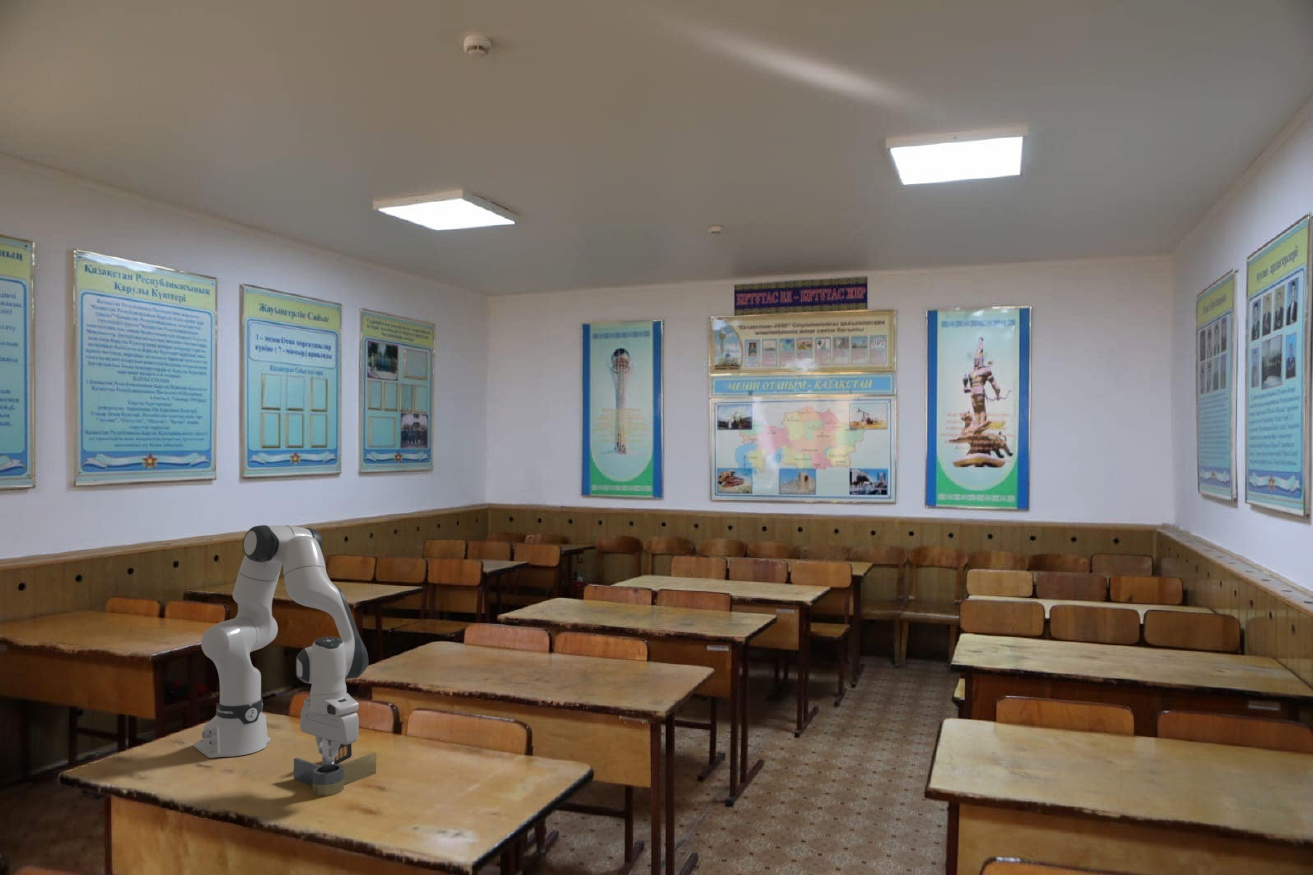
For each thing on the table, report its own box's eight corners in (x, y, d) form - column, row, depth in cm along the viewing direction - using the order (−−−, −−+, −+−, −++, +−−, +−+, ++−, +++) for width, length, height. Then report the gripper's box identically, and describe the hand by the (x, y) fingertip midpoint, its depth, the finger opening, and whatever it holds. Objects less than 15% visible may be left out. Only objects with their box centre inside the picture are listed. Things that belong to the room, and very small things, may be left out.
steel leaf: (282, 782, 228) (282, 762, 228) (307, 774, 234) (307, 754, 234) (324, 797, 217) (324, 776, 218) (349, 788, 224) (349, 767, 224)
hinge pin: (319, 779, 222) (319, 732, 223) (329, 775, 225) (329, 729, 225) (326, 781, 221) (326, 734, 221) (336, 777, 223) (336, 731, 223)
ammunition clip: (327, 769, 238) (327, 725, 238) (321, 768, 238) (322, 725, 239) (351, 756, 248) (352, 714, 248) (346, 755, 249) (346, 714, 249)
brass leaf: (306, 791, 222) (307, 770, 222) (366, 770, 237) (366, 750, 237) (324, 797, 217) (324, 776, 218) (383, 775, 233) (383, 755, 233)
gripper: (293, 698, 226) (293, 750, 226) (341, 710, 215) (341, 766, 215) (315, 692, 232) (315, 744, 231) (363, 704, 220) (363, 758, 220)
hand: (328, 754), depth 223 cm, fingers closed on hinge pin, 3 cm apart
